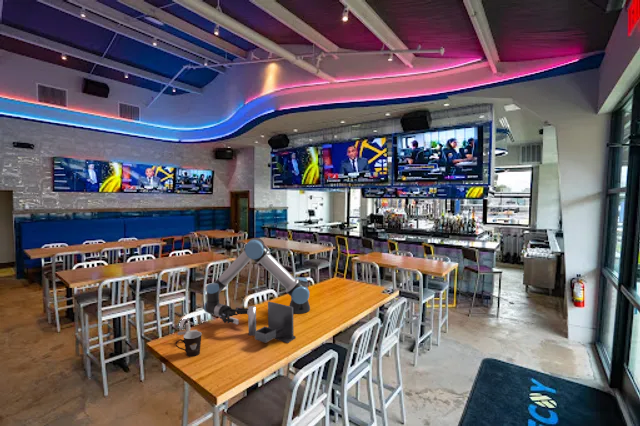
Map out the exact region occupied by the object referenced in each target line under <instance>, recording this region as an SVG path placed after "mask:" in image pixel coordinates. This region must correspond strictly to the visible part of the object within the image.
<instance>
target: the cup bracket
mask: <svg viewBox="0 0 640 426" xmlns="http://www.w3.org/2000/svg"><path fill="white" fill-rule="evenodd" d="M267 322H268V323H267V326H263V327H261V328H259V329H256V331H255V335H254V340H256V341H259V342H262V343H265V344H266V343H268V342H270V341H272V340H273V339H274V340H276V341H280V342H283V343H286V344H289V343H291V342H292V341H294V340H296V337H297V336H295V335H294V331H295V330H294V313H293V307H290V306H289V305H285V304H281V303H279V302H278V303H276V302H272V301H268V302H267Z"/></svg>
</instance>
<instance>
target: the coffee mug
mask: <svg viewBox="0 0 640 426" xmlns="http://www.w3.org/2000/svg"><path fill="white" fill-rule="evenodd" d="M202 337H203V335H202V332H201V331H198V330H197V331H193V332H189V333H186V334H185V335H183V339H178V340H176V342H175V347H176V348H177V349H178V350H182V351H184V352H185V355H186V357H188V358H194V357H198V356H199V355H200V353H201V346H202V345H201V344H202ZM178 342H183V344H184V347H179V345H177V344H178Z"/></svg>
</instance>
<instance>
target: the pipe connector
mask: <svg viewBox="0 0 640 426" xmlns="http://www.w3.org/2000/svg"><path fill="white" fill-rule="evenodd" d="M193 331H198V329H191V327H190V323H189V322H187V323H185V330H184V331H177V336H184V335H185V334H186V333H189V332H193Z"/></svg>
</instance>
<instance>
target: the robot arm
mask: <svg viewBox="0 0 640 426" xmlns="http://www.w3.org/2000/svg"><path fill="white" fill-rule="evenodd" d="M251 260H253V262H255V264H260V265H261V266H262V267H264V268H265V270H266V271H268V272H269V274H271V276H273V277H274V278H275V280H277V282H279V283H280V284H281V285H282V286H283V287H284V288H285V293H286V294H288V295H289V296H290V298H291V299H290V302H289V305H288V306H290V307H293V314H297V315H299V314H301V315H302V314H306V313H308V312H310V311H311V306H310V305H311V304H310V302H309V299H310V290H309V287H308V279H307V277H294V276H293V275H292V274H291V273H290V272H289V271H288V270H287V269H286V268H285V267H284V266H283V265H282V264H280V262H279V261H278V260H277V259H275V257H274V256H273V255H272V254H271V253H270V249H269V248H268V247H267V246H266V245H265V242H264V240H263V239H261V238H259V237H252V238H250V240H249V241H248V242H247V243H246V244H245V247H244V248H243V250H242V252H241V253H240V255H238V256H237V257H236V258H235V260H233V262H232V263H230V265H229V266H228V267H227V268H226V269H225V270H224V271H223V272H222V274H221V275H219V277H218V278H217V279H216V280H214V282H211V283H208V284H207V285H206V300H207V301H206V302H205V303H204V306H203V311H204V312H206V313H207V314H208V315H214V316H216V317H219V319H221V320H222V322H223V323H224V324H226V323H227V324H230V323H232V324H235V325H239V323H240V322H239V319H238V318H235V317H233V316H238V315H247V316H248V307H245V308H244V307H235V308H232V307H231V306H230V305H227V304H223V303H220V294H221V292H222V291H223V290H224V289H225V288H226V287H227V285H228V284H230V282H232V280H233V279H234V278H235V277H236V276H237V275H238V274H239V273H240V272H241V271H242V270H243V268H244V267H245V266H246V265H248V263H249V262H250V261H251Z"/></svg>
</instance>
